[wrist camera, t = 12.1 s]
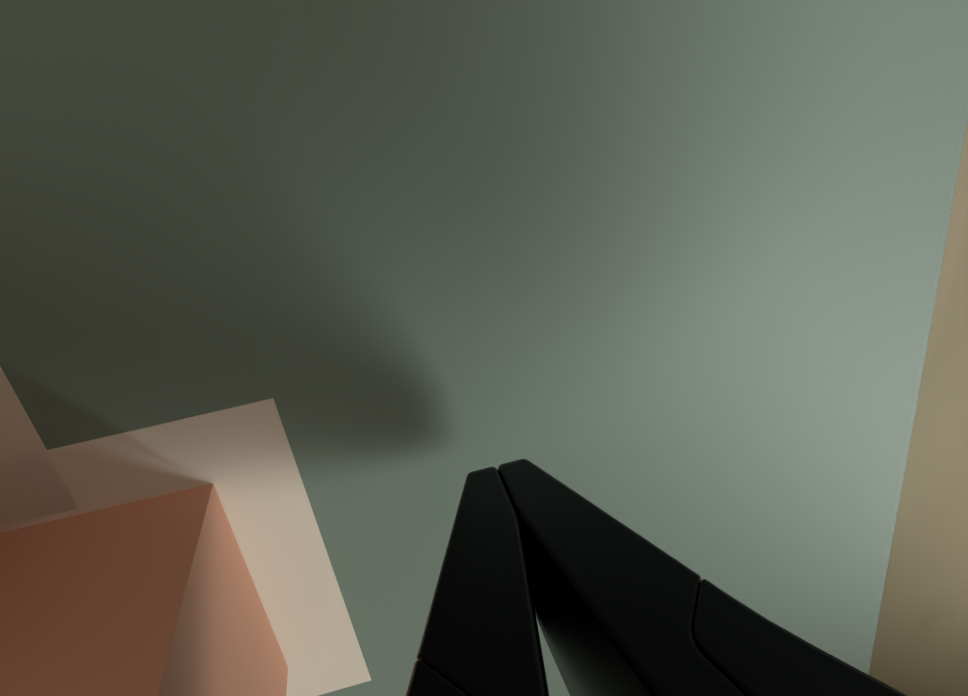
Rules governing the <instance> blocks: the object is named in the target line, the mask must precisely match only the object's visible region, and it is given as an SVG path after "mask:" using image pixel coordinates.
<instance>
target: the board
mask: <svg viewBox="0 0 968 696" xmlns="http://www.w3.org/2000/svg"><path fill="white" fill-rule="evenodd" d="M967 120H968V0H0V533H1V532H5V531H10V530H14V529H18V528H23V527H27V526H31V525H36V524H40V523H44V522H49V521H53V520H57V519H62V518H66V517H70V516H74V515H79V514H83V513H87V512H92V511H96V510H100V509H105V508H109V507H113V506H118V505H122V504H126V503H131V502H135V501H139V500H144V499H148V498H152V497H157V496H161V495H165V494H170V493H174V492H178V491H182V490H187V489H191V488H195V487H200V486H204V485H208V484H214V486H215V489H216V491H217V494H218V496H219V499H220V501H221V504H222V506H223V509H224V511H225V513H226V516H227V518H228V521H229V523H230V526H231V528H232V531H233V533H234V536H235V538H236V540H237V543H238V545H239V548H240V550H241V553H242V555H243V558H244V560H245V563H246V565H247V568H248V570H249V572H250V575H251V577H252V580H253V582H254V585H255V587H256V590H257V592H258V595H259V597H260V600H261V602H262V604H263V607H264V609H265V612H266V614H267V617H268V619H269V622H270V624H271V627H272V629H273V631H274V634H275V636H276V639H277V641H278V644H279V646H280V649H281V651H282V654H283V656H284V659H285V661H286V663H287V666H288V676H287V691H286V696H405V695H406V692H407V688H408V685H409V681H410V678H411V674H412V670H413V667H414V663H415V662H416V661H417V653H418V650H419V646H420V643H421V639H422V635H423V632H424V628H425V625H426V621H427V617H428V614H429V610H430V607H431V603H432V599H433V596H434V592H435V589H436V585H437V581H438V578H439V574H440V571H441V567H442V563H443V560H444V556H445V553H446V549H447V545H448V542H449V538H450V534H451V531H452V527H453V524H454V520H455V516H456V513H457V509H458V506H459V502H460V498H461V495H462V491H463V488H464V484H465V480H466V477H467V475H468V474H469V473H470V472H472V471H476V470H480V469H484V468H488V467H495V468H497V469H498V467H499V465H501V464H503V463H507V462H511V461H515V460H519V459H527V460H529V461H531V462H532V463H533V464H535V465H536V466H538V467H539V468H541V469H542V470H544V471H545V472H547V473H548V474H550V475H551V476H553V477H554V478H556V479H557V480H559V481H560V482H562V483H563V484H565V485H566V486H568V487H569V488H571V489H572V490H574V491H575V492H577V493H578V494H580V495H581V496H583V497H584V498H586V499H587V500H589V501H590V502H592V503H593V504H594V505H596V506H597V507H599V508H600V509H602V510H603V511H605V512H606V513H608V514H609V515H611V516H612V517H614V518H615V519H617V520H618V521H620V522H621V523H623V524H624V525H626V526H627V527H629V528H630V529H632V530H633V531H635V532H636V533H638V534H639V535H641V536H642V537H644V538H645V539H647V540H648V541H650V542H651V543H652V544H654V545H655V546H657V547H658V548H660V549H661V550H663V551H664V552H666V553H667V554H669V555H670V556H672V557H673V558H675V559H676V560H678V561H679V562H681V563H682V564H684V565H685V566H687V567H688V568H690V569H691V570H693V571H694V572H696V573H697V574H699V575H700V577H701V580H702V579H706V580H708V581H709V582H711V583H712V584H714V585H715V586H717V587H718V588H720V589H721V590H723V591H724V592H726V593H727V594H729V595H730V596H732V597H734V598H735V599H737V600H738V601H740V602H741V603H743V604H745V605H746V606H748V607H749V608H751V609H752V610H754V611H756V612H757V613H759V614H760V615H762V616H764V617H765V618H767V619H768V620H770V621H772V622H774V623H775V624H777V625H779V626H781V627H782V628H784V629H786V630H788V631H790V632H791V633H793V634H795V635H797V636H798V637H800V638H802V639H804V640H805V641H807V642H809V643H811V644H812V645H814V646H816V647H818V648H820V649H822V650H824V651H825V652H827V653H829V654H831V655H833V656H835V657H837V658H838V659H840V660H842V661H844V662H846V663H848V664H850V665H851V666H853V667H855V668H857V669H859V670H861V671H863V672H864V673H866V674H868V675H869V669H870V664H871V658H872V653H873V647H874V641H875V636H876V630H877V625H878V619H879V613H880V608H881V602H882V597H883V591H884V585H885V580H886V574H887V569H888V563H889V557H890V552H891V546H892V541H893V535H894V529H895V524H896V518H897V513H898V507H899V501H900V496H901V490H902V485H903V479H904V473H905V468H906V462H907V456H908V451H909V445H910V440H911V434H912V428H913V423H914V417H915V412H916V406H917V400H918V395H919V389H920V384H921V378H922V372H923V367H924V361H925V356H926V350H927V344H928V339H929V333H930V328H931V322H932V316H933V311H934V305H935V300H936V294H937V288H938V283H939V277H940V272H941V266H942V260H943V255H944V249H945V244H946V238H947V232H948V227H949V221H950V216H951V210H952V204H953V199H954V193H955V188H956V182H957V176H958V171H959V165H960V160H961V154H962V148H963V143H964V137H965V132H966V126H967ZM536 619H537V617H536ZM537 624H538V630H539V636H540V642H541V648H542V654H543V660H544V665H545V671H546V677H547V683H548V689H549V695H550V696H570V694H569V692H568V690H567V688H566V685H565V683H564V681H563V679H562V676H561V674H560V672H559V670H558V667H557V665H556V663H555V661H554V658H553V656H552V654H551V652H550V649H549V647H548V645H547V642H546V640H545V638H544V635H543V633H542V631H541V628H540V626H539V623H538V620H537Z"/></svg>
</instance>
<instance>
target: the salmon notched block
mask: <svg viewBox="0 0 968 696" xmlns="http://www.w3.org/2000/svg"><path fill="white" fill-rule="evenodd" d="M287 676H288V666H287V663H286V661H285V659H284V656H283V654H282V651H281V649H280V646H279V644H278V641H277V639H276V636H275V634H274V631H273V629H272V627H271V624H270V622H269V619H268V617H267V614H266V612H265V609H264V607H263V604H262V602H261V600H260V597H259V595H258V592H257V590H256V587H255V585H254V582H253V580H252V577H251V575H250V572H249V570H248V568H247V565H246V563H245V560H244V558H243V555H242V553H241V550H240V548H239V545H238V543H237V540H236V538H235V536H234V533H233V531H232V528H231V526H230V523H229V521H228V518H227V516H226V513H225V511H224V509H223V506H222V504H221V501H220V499H219V496H218V494H217V491H216V489H215V486H214V484H208V485H204V486H200V487H195V488H191V489H187V490H182V491H178V492H174V493H170V494H165V495H161V496H157V497H152V498H148V499H144V500H139V501H135V502H131V503H126V504H122V505H118V506H113V507H109V508H105V509H100V510H96V511H92V512H87V513H83V514H79V515H74V516H70V517H66V518H62V519H57V520H53V521H49V522H44V523H40V524H36V525H31V526H27V527H23V528H18V529H14V530H10V531H5V532H1V533H0V696H286V691H287Z"/></svg>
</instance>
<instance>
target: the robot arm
mask: <svg viewBox="0 0 968 696" xmlns="http://www.w3.org/2000/svg"><path fill="white" fill-rule="evenodd" d="M536 617H537V619H536ZM537 620H538V623H539V626H540V628H541V631H542V633H543V635H544V638H545V640H546V642H547V645H548V647H549V649H550V652H551V654H552V656H553V658H554V661H555V663H556V665H557V667H558V670H559V672H560V674H561V676H562V679H563V681H564V683H565V685H566V688H567V690H568V692H569V694H570V696H907V695H905V694H903V693H902V692H900V691H898V690H896V689H894V688H892V687H890V686H889V685H887V684H885V683H883V682H881V681H879V680H877V679H876V678H874V677H872V676H870V675H868V674H866V673H864V672H863V671H861V670H859V669H857V668H855V667H853V666H851V665H850V664H848V663H846V662H844V661H842V660H840V659H838V658H837V657H835V656H833V655H831V654H829V653H827V652H825V651H824V650H822V649H820V648H818V647H816V646H814V645H812V644H811V643H809V642H807V641H805V640H804V639H802V638H800V637H798V636H797V635H795V634H793V633H791V632H790V631H788V630H786V629H784V628H782V627H781V626H779V625H777V624H775V623H774V622H772V621H770V620H768V619H767V618H765V617H764V616H762V615H760V614H759V613H757V612H756V611H754V610H752V609H751V608H749V607H748V606H746V605H745V604H743V603H741V602H740V601H738V600H737V599H735V598H734V597H732V596H730V595H729V594H727V593H726V592H724V591H723V590H721V589H720V588H718V587H717V586H715V585H714V584H712V583H711V582H709V581H708V580H706V579H702V580H701V577H700V575H699V574H697V573H696V572H694V571H693V570H691V569H690V568H688V567H687V566H685V565H684V564H682V563H681V562H679V561H678V560H676V559H675V558H673V557H672V556H670V555H669V554H667V553H666V552H664V551H663V550H661V549H660V548H658V547H657V546H655V545H654V544H652V543H651V542H650V541H648V540H647V539H645V538H644V537H642V536H641V535H639V534H638V533H636V532H635V531H633V530H632V529H630V528H629V527H627V526H626V525H624V524H623V523H621V522H620V521H618V520H617V519H615V518H614V517H612V516H611V515H609V514H608V513H606V512H605V511H603V510H602V509H600V508H599V507H597V506H596V505H594V504H593V503H592V502H590V501H589V500H587V499H586V498H584V497H583V496H581V495H580V494H578V493H577V492H575V491H574V490H572V489H571V488H569V487H568V486H566V485H565V484H563V483H562V482H560V481H559V480H557V479H556V478H554V477H553V476H551V475H550V474H548V473H547V472H545V471H544V470H542V469H541V468H539V467H538V466H536V465H535V464H533V463H532V462H531V461H529V460H527V459H519V460H515V461H511V462H507V463H503V464H501V465H499V467H498V469H497V468H495V467H488V468H484V469H480V470H476V471H472V472H470V473H469V474H468V475H467V477H466V480H465V484H464V488H463V491H462V495H461V498H460V502H459V506H458V509H457V513H456V516H455V520H454V524H453V527H452V531H451V534H450V538H449V542H448V545H447V549H446V553H445V556H444V560H443V563H442V567H441V571H440V574H439V578H438V581H437V585H436V589H435V592H434V596H433V599H432V603H431V607H430V610H429V614H428V617H427V621H426V625H425V628H424V632H423V635H422V639H421V643H420V646H419V650H418V653H417V661H416V662H415V663H414V667H413V670H412V674H411V678H410V681H409V685H408V688H407V692H406V695H405V696H550V695H549V689H548V683H547V677H546V671H545V665H544V660H543V654H542V648H541V642H540V636H539V630H538V624H537Z"/></svg>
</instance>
